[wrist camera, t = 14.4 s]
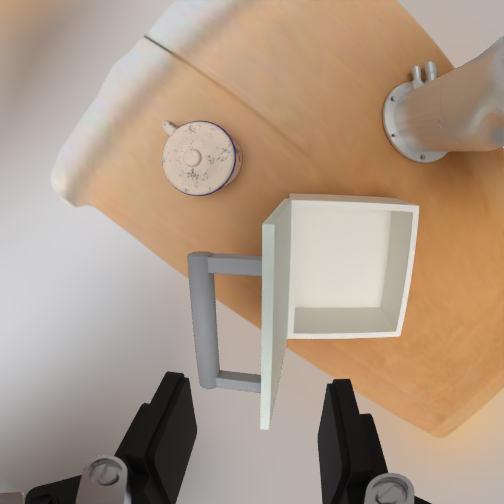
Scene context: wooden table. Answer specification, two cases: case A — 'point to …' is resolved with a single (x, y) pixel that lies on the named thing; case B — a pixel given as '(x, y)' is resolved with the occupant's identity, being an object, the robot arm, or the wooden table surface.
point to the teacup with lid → (200, 157)
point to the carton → (349, 265)
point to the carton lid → (273, 310)
